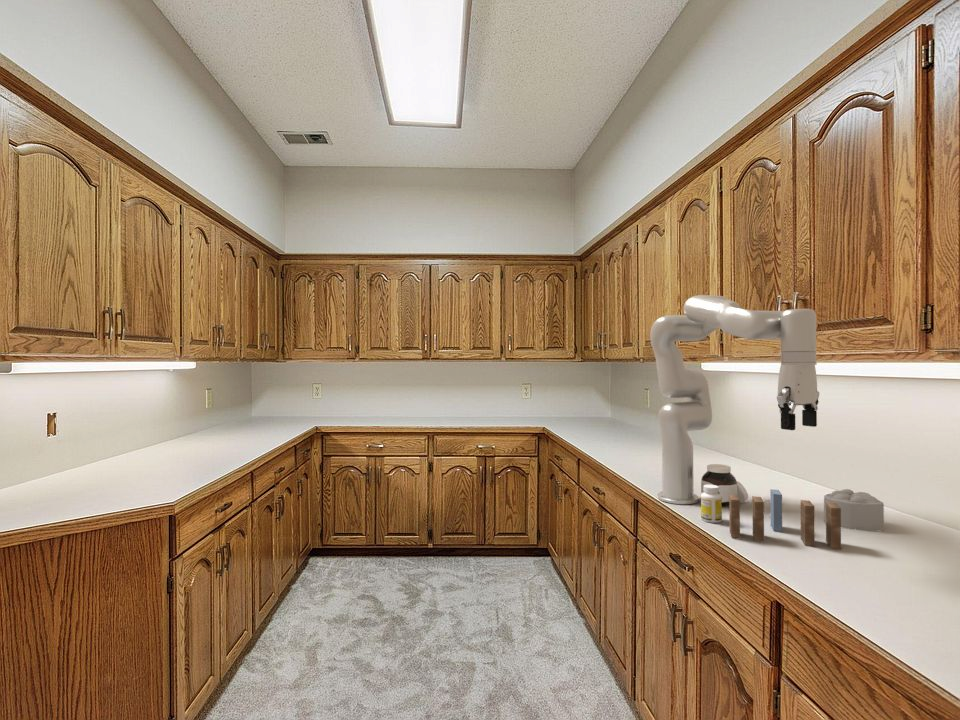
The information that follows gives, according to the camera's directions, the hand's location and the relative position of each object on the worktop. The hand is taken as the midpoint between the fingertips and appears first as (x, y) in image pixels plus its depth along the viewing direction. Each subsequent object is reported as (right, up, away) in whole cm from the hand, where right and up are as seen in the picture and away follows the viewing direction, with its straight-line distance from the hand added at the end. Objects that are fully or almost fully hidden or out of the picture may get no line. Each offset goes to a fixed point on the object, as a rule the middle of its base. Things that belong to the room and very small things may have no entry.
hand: (799, 427), depth 128 cm
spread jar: (-1, -29, +36) cm, 46 cm away
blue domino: (+1, -29, +12) cm, 31 cm away
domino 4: (+8, -29, 0) cm, 30 cm away
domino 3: (+3, -29, +2) cm, 29 cm away
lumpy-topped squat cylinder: (+24, -29, +15) cm, 40 cm away
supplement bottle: (-13, -29, +20) cm, 38 cm away
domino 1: (-12, -29, +8) cm, 33 cm away
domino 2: (-7, -29, +6) cm, 31 cm away
